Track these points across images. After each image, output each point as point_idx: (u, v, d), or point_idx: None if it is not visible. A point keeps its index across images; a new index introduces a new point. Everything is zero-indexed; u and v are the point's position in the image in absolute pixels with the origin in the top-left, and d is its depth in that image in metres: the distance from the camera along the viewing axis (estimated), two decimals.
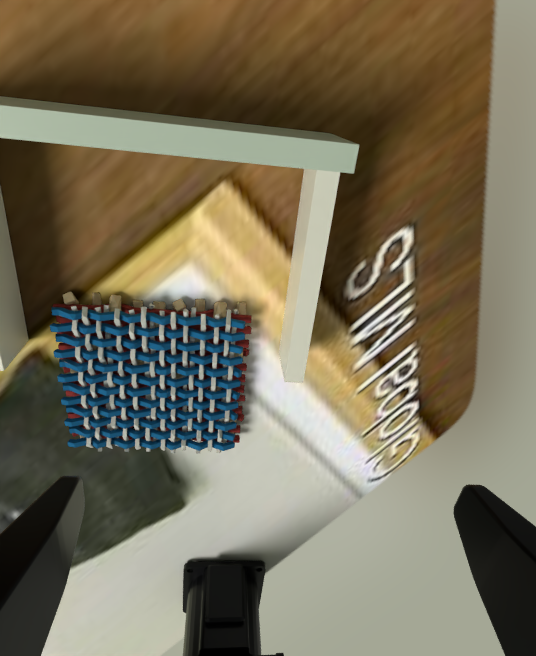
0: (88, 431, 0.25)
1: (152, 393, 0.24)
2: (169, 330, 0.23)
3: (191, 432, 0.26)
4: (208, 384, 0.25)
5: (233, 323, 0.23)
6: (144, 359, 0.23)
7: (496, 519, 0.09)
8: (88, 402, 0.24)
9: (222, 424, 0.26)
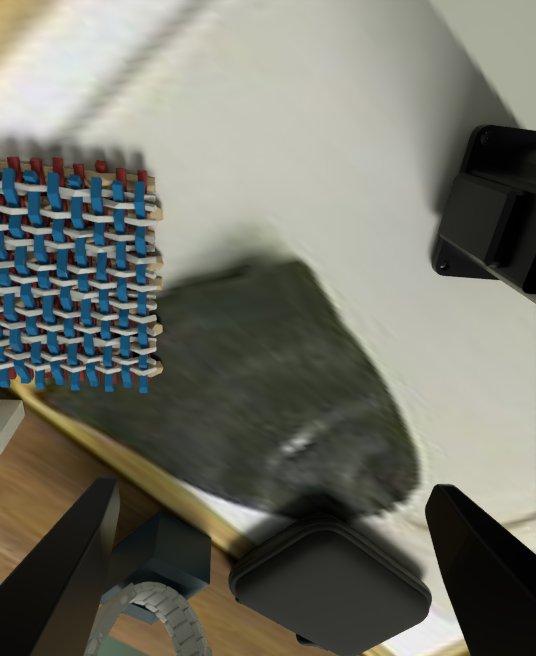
0: (122, 370, 0.20)
1: (43, 293, 0.18)
2: None
3: None
4: (15, 217, 0.17)
5: None
6: None
7: (463, 519, 0.09)
8: (73, 364, 0.20)
9: None
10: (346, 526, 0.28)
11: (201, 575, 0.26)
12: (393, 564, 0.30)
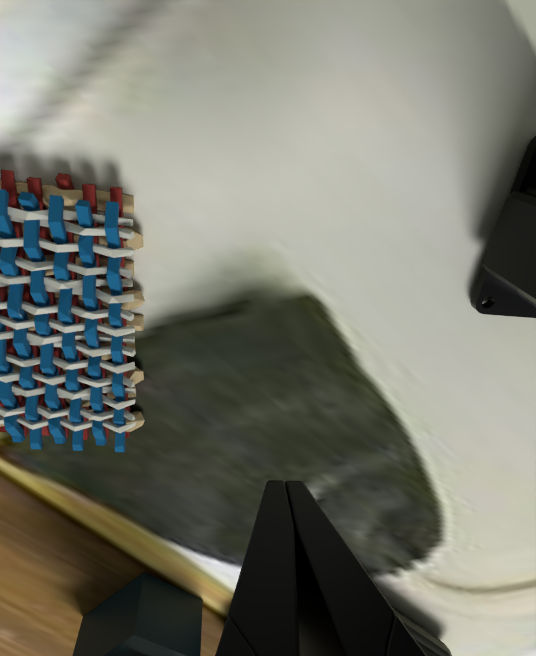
0: None
1: None
2: None
3: (83, 282, 0.14)
4: None
5: None
6: None
7: (293, 517, 0.09)
8: (32, 419, 0.16)
9: None
10: None
11: (190, 650, 0.22)
12: (411, 628, 0.26)
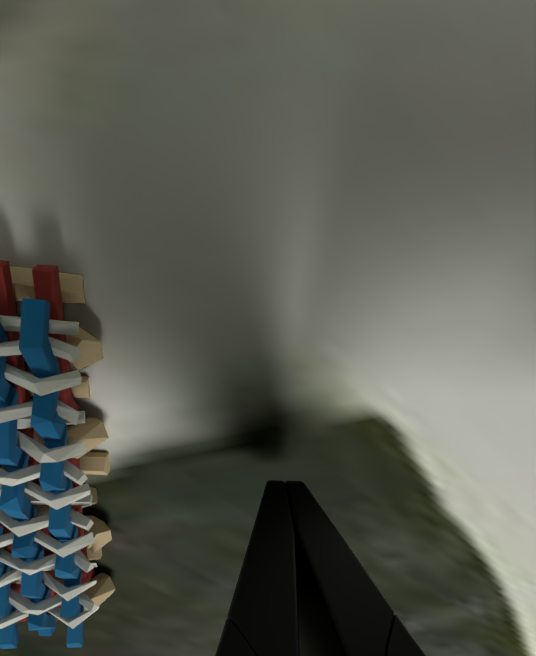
0: None
1: None
2: None
3: None
4: None
5: None
6: None
7: (293, 517, 0.09)
8: None
9: None
10: None
11: None
12: None
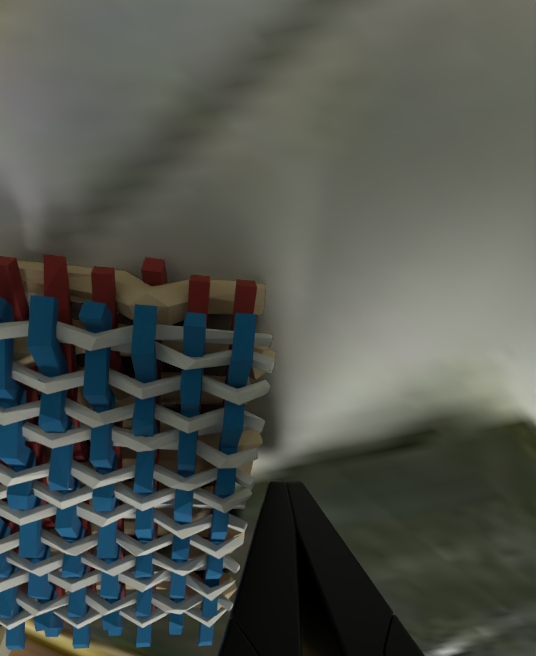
0: (169, 618, 0.11)
1: (19, 520, 0.09)
2: None
3: (179, 435, 0.08)
4: None
5: None
6: None
7: (292, 517, 0.09)
8: None
9: None
10: None
11: None
12: None
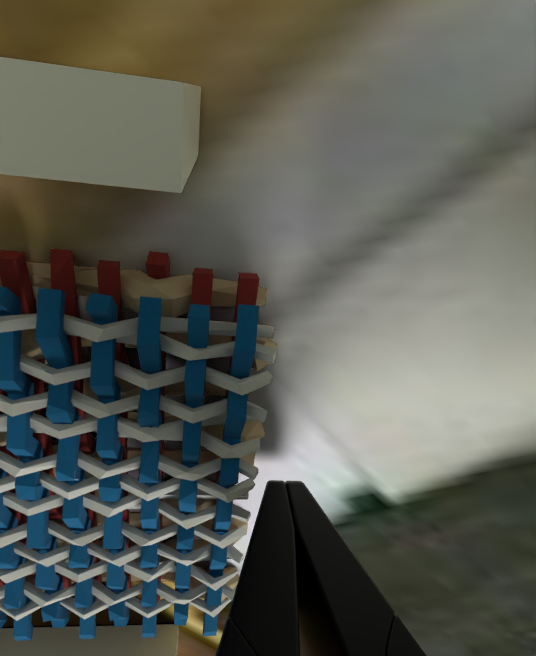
0: (174, 608, 0.11)
1: (27, 511, 0.09)
2: None
3: (183, 425, 0.08)
4: None
5: None
6: None
7: (293, 517, 0.09)
8: None
9: None
10: None
11: None
12: None
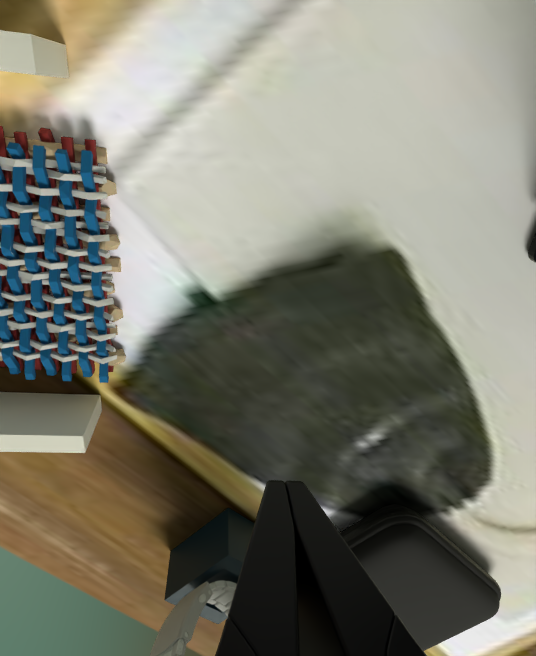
0: (79, 357, 0.19)
1: None
2: None
3: None
4: None
5: None
6: None
7: (293, 517, 0.09)
8: (26, 351, 0.19)
9: (35, 171, 0.15)
10: (424, 519, 0.27)
11: None
12: (467, 559, 0.29)
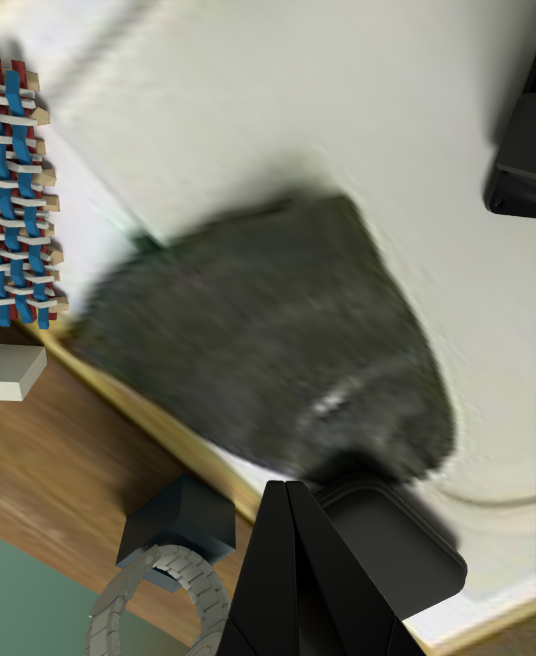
0: None
1: None
2: None
3: None
4: None
5: None
6: None
7: (293, 517, 0.09)
8: None
9: None
10: (388, 486, 0.26)
11: (227, 540, 0.25)
12: (433, 531, 0.28)
